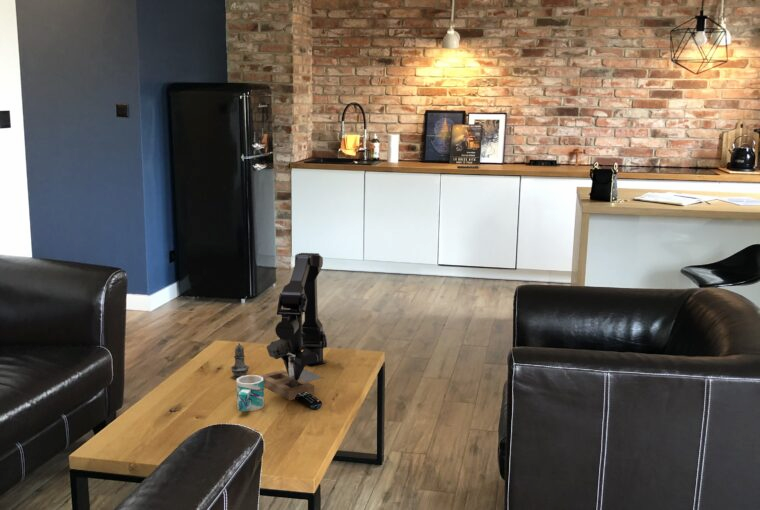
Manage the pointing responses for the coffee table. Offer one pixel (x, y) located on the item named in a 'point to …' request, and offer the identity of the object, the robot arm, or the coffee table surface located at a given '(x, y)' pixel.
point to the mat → (308, 376)
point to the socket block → (285, 384)
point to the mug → (250, 392)
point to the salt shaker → (239, 363)
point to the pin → (292, 373)
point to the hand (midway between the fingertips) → (293, 378)
